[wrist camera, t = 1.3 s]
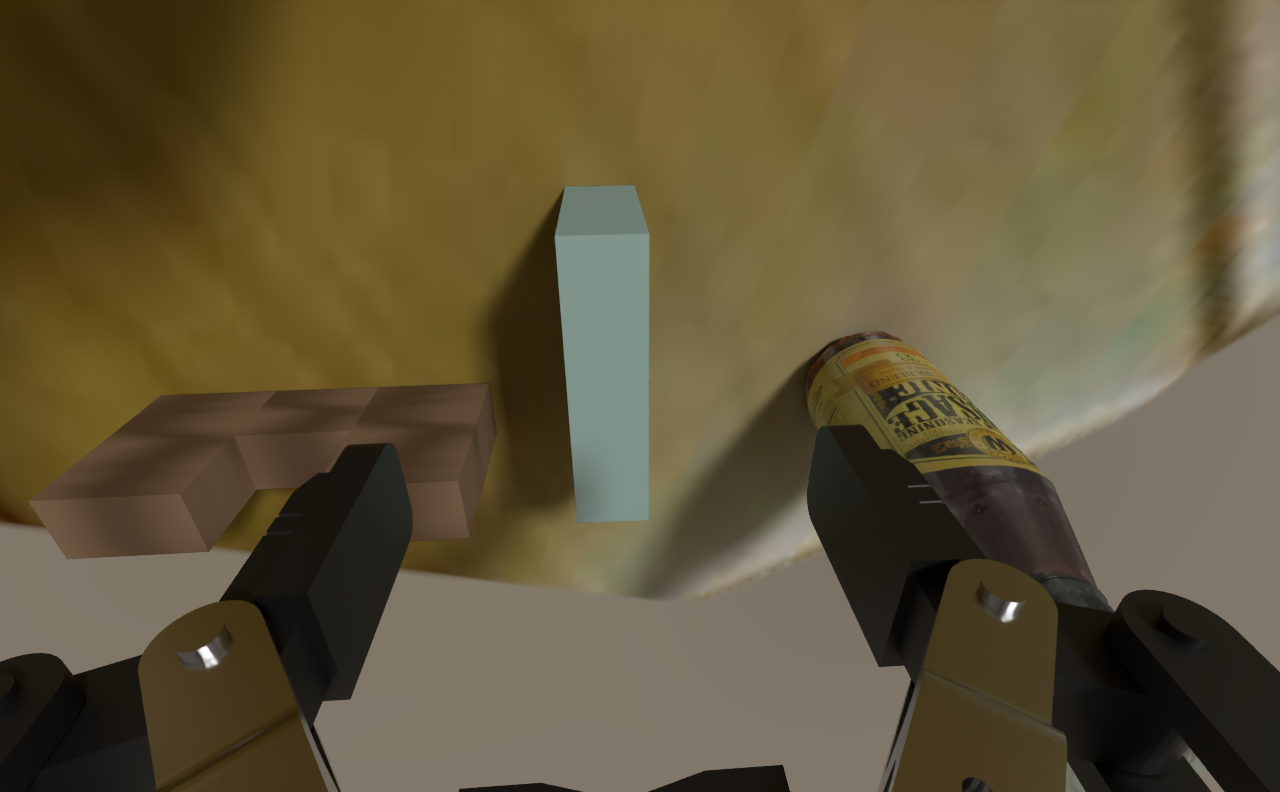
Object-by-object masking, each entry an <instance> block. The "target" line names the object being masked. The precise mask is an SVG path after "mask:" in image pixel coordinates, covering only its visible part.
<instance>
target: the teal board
mask: <svg viewBox="0 0 1280 792" xmlns="http://www.w3.org/2000/svg"><path fill="white" fill-rule="evenodd" d="M555 246H556V258H557V271H558V284H559V297H560V310H561V322H562V335H563V348H564V361H565V374H566V386H567V399H568V412H569V425H570V437H571V450H572V463H573V476H574V489H575V501H576V514H577V523H594V522H613V521H633V520H649V232H648V228H647V225H646V222H645V219H644V215H643V212H642V209H641V206H640V202H639V199H638V196H637V193H636V189H635V186H634V185H628V186H578V187H565V190H564V195H563V199H562V204H561V209H560V213H559V218H558V223H557V228H556V232H555Z"/></svg>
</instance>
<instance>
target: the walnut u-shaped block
mask: <svg viewBox="0 0 1280 792" xmlns="http://www.w3.org/2000/svg"><path fill="white" fill-rule="evenodd" d="M496 433H497V431H496V425H495V418H494V411H493V405H492V398H491V392H490V385H489V383H481V384H454V385H428V386H401V387H375V388H348V389H322V390H295V391H269V392H242V393H216V394H189V395H163V396H160V397H159V398H158V399H156V400H155V401H154V402H153V403H151V404H150V405H149V406H148V407H146V408H145V409H144V410H143V411H141V412H140V413H139V414H137V415H136V416H135V417H134V418H132V419H131V420H130V421H129V422H127V423H126V424H125V425H124V426H122V427H121V428H120V429H119V430H117V431H116V432H115V433H114V434H112V435H111V436H110V437H109V438H107V439H106V440H105V441H103V442H102V443H101V444H100V445H98V446H97V447H96V448H95V449H93V450H92V451H91V452H90V453H88V454H87V455H86V456H85V457H83V458H82V459H81V460H80V461H78V462H77V463H76V464H75V465H73V466H72V467H71V468H69V469H68V470H67V471H66V472H64V473H63V474H62V475H61V476H59V477H58V478H57V479H56V480H54V481H53V482H52V483H51V484H49V485H48V486H47V487H46V488H44V489H43V490H42V491H40V492H39V493H38V494H37V495H35V496H34V497H33V498H32V499H30V500H29V503H30V504H31V506H32V507H33V509H34V510H35V512H36V513H37V515H38V516H39V518H40V519H41V521H42V522H43V524H44V525H45V527H46V528H47V530H48V531H49V533H50V534H51V536H52V537H53V539H54V540H55V542H56V543H57V545H58V546H59V548H60V549H61V551H62V552H63V554H64V555H65V557H66V558H67V559H77V558H96V557H116V556H135V555H154V554H172V553H173V554H174V553H192V552H193V553H194V552H209V551H210V550H211V548H212V547H213V546H214V544H215V543H216V542H217V540H218V539H219V538H220V537H221V535H222V534H223V533H224V531H225V530H226V529H227V527H228V526H229V525H230V524H231V522H232V521H233V520H234V518H235V517H236V516H237V515H238V513H239V512H240V511H241V509H242V508H243V507H244V505H245V504H246V503H247V502H248V500H249V499H250V498H251V496H252V495H253V494H254V492H255V491H256V490H257V489H277V488H299V487H301V486H302V485H303V484H304V483H306V482H307V481H308V480H310V479H311V478H312V477H313V476H315V475H316V474H317V473H329V472H330V470H331V469H332V467H333V466H334V464H335V463H336V461H337V459H338V458H339V456H340V455H341V453H342V451H343V450H344V448H345V447H346V446H347V445H351V444H374V443H392V444H393V445H394V446H395V448H396V450H397V452H398V456H399V460H400V464H401V468H402V472H403V475H404V479H405V483H406V487H407V491H408V495H409V499H410V503H411V507H412V514H413V526H412V534H411V538H410V541H425V540H445V539H464V538H470V535H471V531H472V527H473V523H474V520H475V516H476V512H477V508H478V504H479V500H480V496H481V492H482V488H483V484H484V480H485V476H486V472H487V469H488V465H489V461H490V457H491V453H492V449H493V445H494V441H495V437H496Z"/></svg>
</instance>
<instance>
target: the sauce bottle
mask: <svg viewBox="0 0 1280 792" xmlns="http://www.w3.org/2000/svg"><path fill="white" fill-rule="evenodd" d="M805 387H806V389H805V393H806V400H807V407H808V410H809V414H810V417H811V419H812V421H813V424H814V425H815V427H816V429H817V431H818V430H819V428H820V427H821V426H830V425H854V424H861V425H863V426H864V427H865V428H866V429H867V430H868V432H869V433H870V435H871V436H872V437H873V439H874V440H875V441H876V443H877V444H878V446H879V447H880V448H881V449H892V450H894V451H895V452H896V453H898V454H899V455H901V456H902V457H904V458H905V459H907V460H908V461H910V462H911V463H913V464H914V465H915V466H916V467H917V469H918V470H919V471H920V473H921V474H922V475H923V476H924V478H925V479H926V480H927V482H928V483H929V487H930V488H931V487H932V488H933V489H934V491H935V492H936V493H937V494H938V496H939V497H940V498H941V503H942V504H943V503H945V505H946V506H947V507H948V509H949V510H950V511H951V512H952V514H953V515H954V516H955V518H956V519H957V520H958V521H959V523H960V524H961V525H962V527H963V528H964V529H965V530H966V532H967V533H968V534H969V536H970V537H971V538H972V539H973V541H974V542H975V543H976V545H977V546H978V547H979V548H980V550H981V551H982V552H983V554H984V555H985V556H986V557H987V559H988V560H992V561H997V562H1000V563H1004V564H1007V565H1009V566H1012V567H1014V568H1016V569H1018V570H1020V571H1022V572H1024V573H1025V574H1027V575H1029V576H1030V577H1032V578H1033V579H1034V580H1036V581H1037V582H1038V583H1039V584H1040V585H1041V586H1042V587H1044V588H1045V589H1046V591H1047V592H1048V593H1049V594H1050V596H1051V597H1052V599H1053V600H1054V601H1057V602H1061V603H1066V604H1071V605H1076V606H1081V607H1087V608H1092V609H1097V610H1102V611H1107V612H1112V613H1115V611H1114V610H1113V609H1112V608H1111V607H1110V606H1109V605H1108V602H1107V599H1106V598H1105V596H1104V595H1103V594H1102V593H1101V591H1100V590H1099V589H1097V586H1096V584H1095V581H1094V579H1093V577H1092V574H1091V572H1090V570H1089V567H1088V565H1087V562H1086V560H1085V558H1084V555H1083V553H1082V550H1081V548H1080V546H1079V544H1078V541H1077V539H1076V537H1075V534H1074V532H1073V530H1072V527H1071V525H1070V523H1069V520H1068V518H1067V516H1066V513H1065V511H1064V508H1063V506H1062V504H1061V502H1060V499H1059V497H1058V494H1057V492H1056V490H1055V487H1054V486H1053V484H1052V482H1051V481H1050V480H1049V479H1048V478H1047V477H1046V476H1045V475H1044V474H1043V473H1042V472H1041V471H1040V470H1039V469H1038V468H1037V467H1036V466H1035V464H1034V463H1033V462H1031V461H1030V460H1029V459H1028V458H1027V457H1026V456H1025V455H1024V454H1023V453H1022V451H1020V450H1019V449H1018V448H1017V447H1016V446H1015V445H1013V444H1012V442H1011V441H1010V440H1009V439H1008V438H1006V437H1005V436H1004V435H1003V434H1002V432H1000V431H999V429H998V428H997V427H996V426H995V425H994V424H993V423H992V422H991V421H990V420H989V419H988V418H987V417H986V416H985V415H984V414H983V413H982V412H981V411H980V410H979V409H977V408H976V407H975V406H974V405H973V404H972V402H971V401H970V400H969V399H968V398H967V397H966V396H965V395H964V394H963V393H961V392H960V391H959V390H958V389H957V388H956V387H955V386H954V385H953V384H952V383H951V382H950V381H949V380H948V379H947V378H946V377H945V376H944V375H943V374H942V373H941V372H940V371H939V370H937V369H936V368H935V367H934V366H933V365H932V364H931V363H930V362H929V361H928V360H927V359H926V358H925V357H924V356H923V355H922V354H921V353H920V352H919V351H918V350H917V349H915V348H913V347H912V346H910V345H908V344H906V343H903V342H902V340H901V339H899V338H897V337H894V336H892V335H889V334H887V333H885V332H864V333H860V334H855V335H852V336H846V337H844V338H841V339H838V340H837V341H836V342H834V343H833V344H831V345H830V346H829V347H828V348H827V349H826V350H825V352H824V353H823V354H822V355H820V356H819V357H818V359H817V360H816V361H815V362H814V363H813V365H812V367H811V368H810V370H809V372H808V375H807V381H806V385H805ZM1183 756H1184V757H1185V758H1186V760H1187V761H1188V762H1189V764H1190V765H1191V766H1192V767H1193V769H1194V770H1195V771H1196V773H1197V774H1199V773H1200V772H1201V771H1202V770H1204V769H1205V766H1204V765H1203V764H1202V763H1201V761H1200V760H1199V759H1198V758H1197V756H1196V755H1195V754H1194V753H1193V751H1192V750H1191V749H1190V748H1188V749H1187V750H1186V752H1185V753H1184V754H1183ZM1066 792H1085V790H1084V788H1083V787H1082V785H1081V783H1080V782H1079V780H1078V778H1077V777H1076V775H1075V773H1074V772H1073V770H1072V769H1071V767H1070V765H1069V764H1068V762H1067V769H1066Z"/></svg>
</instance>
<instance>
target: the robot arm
mask: <svg viewBox="0 0 1280 792" xmlns="http://www.w3.org/2000/svg"><path fill="white" fill-rule="evenodd" d="M807 504H808V511H809V515H810V519H811V521H812V524H813V526H814V528H815V530H816V532H817V534H818V537H819V539H820V541H821V543H822V545H823V547H824V550H825V552H826V554H827V556H828V558H829V560H830V562H831V564H832V566H833V569H834V571H835V573H836V575H837V577H838V580H839V582H840V584H841V586H842V588H843V590H844V593H845V595H846V597H847V599H848V601H849V603H850V606H851V608H852V610H853V612H854V614H855V616H856V618H857V621H858V623H859V625H860V627H861V629H862V631H863V634H864V636H865V638H866V640H867V642H868V644H869V646H870V649H871V651H872V653H873V655H874V657H875V659H876V661H877V664H878V666H879V667H887V666H901V665H902V666H903V665H904V666H905V668H906V669H907V671H908V673H909V675H910V678H911V681H910V683H909V687H908V689H907V692H906V696H905V699H904V703H903V706H902V710H901V713H900V716H899V720H898V723H897V727H896V730H895V734H894V737H893V741H892V744H891V747H890V751H889V754H888V758H887V761H886V765H885V768H884V772H883V775H882V778H881V782H880V785H879V788H878V792H1066V769H1067V762H1068V764H1069V765H1070V767H1071V769H1072V770H1073V772H1074V773H1075V775H1076V777H1077V778H1078V780H1079V782H1080V783H1081V785H1082V787H1083V788H1084V790H1085V792H1211V791H1210V789H1209V788H1208V787H1207V786H1206V784H1205V783H1204V782H1203V780H1202V779H1201V778H1200V777H1199V775H1198V774H1197V773H1196V771H1195V770H1194V769H1193V767H1192V766H1191V765H1190V764H1189V762H1188V761H1187V760H1186V758H1185V757H1184V756H1183V754H1184V753H1185V752H1186V750H1187V749H1188V748H1190V749H1191V750H1192V751H1193V753H1194V754H1195V755H1196V756H1197V758H1198V759H1199V760H1200V761H1201V763H1202V764H1203V765H1204V766H1205V768H1206V769H1207V770H1208V771H1209V773H1210V774H1211V775H1212V776H1213V778H1214V779H1215V780H1216V781H1217V783H1218V784H1219V785H1220V786H1221V788H1222V789H1223V790H1224V791H1225V792H1280V672H1279V671H1278V670H1277V669H1276V668H1275V667H1274V666H1273V665H1272V664H1270V662H1269V661H1268V660H1267V659H1266V658H1265V657H1263V656H1262V655H1261V654H1260V653H1259V652H1258V651H1257V650H1256V649H1255V648H1254V647H1253V646H1252V645H1251V644H1250V643H1249V642H1248V641H1247V640H1246V639H1245V638H1244V637H1243V636H1242V635H1241V634H1240V633H1239V632H1238V631H1237V630H1235V629H1234V628H1233V627H1232V626H1231V625H1230V624H1228V623H1227V622H1226V621H1225V620H1223V619H1222V618H1221V617H1219V616H1218V615H1216V614H1215V613H1213V612H1211V611H1210V610H1208V609H1207V608H1204V607H1203V606H1201V605H1199V604H1197V603H1195V602H1193V601H1190V600H1188V599H1186V598H1182V597H1180V596H1177V595H1174V594H1170V593H1167V592H1162V591H1156V590H1137V591H1134V592H1131V593H1129V594H1127V595H1126V596H1125V597H1124V598H1123V599H1122V601H1121V602H1120V604H1119V606H1118V608H1117V609H1116V611H1115V613H1112V612H1107V611H1102V610H1097V609H1092V608H1087V607H1081V606H1076V605H1071V604H1066V603H1061V602H1057V601H1054V600H1053V599H1052V597H1051V596H1050V594H1049V593H1048V592H1047V591H1046V589H1045V588H1044V587H1042V586H1041V585H1040V584H1039V583H1038V582H1037V581H1036V580H1034V579H1033V578H1032V577H1030V576H1029V575H1027V574H1025V573H1024V572H1022V571H1020V570H1018V569H1016V568H1014V567H1012V566H1009V565H1007V564H1004V563H1000V562H997V561H992V560H988V559H987V557H986V556H985V555H984V554H983V552H982V551H981V550H980V548H979V547H978V546H977V545H976V543H975V542H974V541H973V539H972V538H971V537H970V536H969V534H968V533H967V532H966V530H965V529H964V528H963V527H962V525H961V524H960V523H959V521H958V520H957V519H956V518H955V516H954V515H953V514H952V512H951V511H950V510H949V509H948V507H947V506H946V505H945V503H943V504H942V503H941V498H940V497H939V496H938V494H937V493H936V492H935V491H934V489H933V488H932V487H931V488H930V487H929V483H928V482H927V480H926V479H925V478H924V476H923V475H922V474H921V473H920V471H919V470H918V469H917V467H916V466H915V465H914V464H913V463H911V462H910V461H908V460H907V459H905V458H904V457H902V456H901V455H899V454H898V453H896V452H895V451H894V450H892V449H881V448H880V447H879V446H878V444H877V443H876V441H875V440H874V439H873V437H872V436H871V435H870V433H869V432H868V430H867V429H866V428H865V427H864V426H863V425H861V424H854V425H830V426H821V427H820V428H819V430H818V433H817V437H816V442H815V448H814V454H813V460H812V465H811V471H810V477H809V483H808V489H807ZM412 526H413V514H412V507H411V503H410V499H409V495H408V491H407V487H406V483H405V479H404V475H403V472H402V468H401V464H400V460H399V456H398V452H397V450H396V448H395V446H394V445H393V444H392V443H374V444H351V445H347V446H346V447H345V448H344V450H343V451H342V453H341V455H340V456H339V458H338V459H337V461H336V463H335V464H334V466H333V467H332V469H331V470H330V472H329V473H317V474H316V475H315V476H313V477H312V478H311V479H310V480H308V481H307V482H306V483H304V484H303V485H302V486H301V487H299V488H298V489H297V490H295V491H294V492H293V493H292V495H291V496H290V498H289V499H288V501H287V502H286V504H285V505H284V507H283V508H282V510H281V511H280V513H279V518H275V520H274V521H273V523H272V524H271V526H270V527H269V529H268V530H267V536H263V537H262V539H261V540H260V542H259V543H258V545H257V546H256V548H255V549H254V551H253V552H252V554H251V555H250V557H249V558H248V559H247V561H246V563H245V564H244V565H243V567H242V568H241V570H240V571H239V573H238V574H237V576H236V577H235V579H234V580H233V582H232V583H231V585H230V586H229V588H228V589H227V590H226V592H225V593H224V595H223V596H222V598H221V599H220V601H219V602H216V603H212V604H209V605H206V606H203V607H201V608H198V609H195V610H193V611H192V612H189V613H187V614H186V615H184V616H182V617H180V618H179V619H177V620H175V621H174V622H173V623H171V624H170V625H168V626H167V627H166V628H165V629H163V630H162V631H161V632H160V633H159V634H158V635H157V636H156V637H155V638H154V639H153V640H152V641H151V642H150V644H149V645H148V646H147V648H146V649H145V651H144V653H143V654H142V655H140V656H137V657H133V658H130V659H126V660H123V661H120V662H116V663H113V664H109V665H106V666H103V667H99V668H96V669H93V670H89V671H86V672H83V673H79V674H76V675H73V674H72V673H71V672H70V671H69V669H68V668H67V667H66V665H65V664H64V663H63V661H62V660H61V659H59V658H58V657H57V656H54V655H52V654H46V653H33V654H27V655H21V656H17V657H14V658H10V659H7V660H5V661H2V662H0V792H342V790H341V788H340V785H339V783H338V780H337V778H336V776H335V773H334V771H333V768H332V766H331V763H330V761H329V758H328V756H327V754H326V751H325V749H324V746H323V744H322V741H321V739H320V736H319V734H318V732H317V729H316V727H315V725H314V721H315V718H316V716H317V713H318V711H319V709H320V706H321V704H322V701H332V700H348V699H351V696H352V694H353V691H354V688H355V685H356V683H357V680H358V678H359V675H360V672H361V669H362V667H363V664H364V662H365V658H366V656H367V654H368V651H369V648H370V646H371V643H372V640H373V638H374V635H375V632H376V629H377V627H378V624H379V621H380V619H381V616H382V614H383V611H384V608H385V606H386V603H387V600H388V598H389V595H390V592H391V589H392V587H393V584H394V582H395V579H396V576H397V574H398V571H399V568H400V566H401V563H402V560H403V558H404V555H405V552H406V550H407V547H408V544H409V542H410V538H411V534H412ZM459 792H581V791H577V790H572V789H567V788H562V787H558V786H553V785H548V784H544V783H533V784H519V785H506V786H491V787H478V788H466V789H459ZM649 792H790V790H789V787H788V783H787V779H786V775H785V772H784V768H783V765H776V766H761V767H748V768H735V769H721V770H708V771H703V772H701V773H698V774H695V775H692V776H689V777H687V778H684V779H681V780H679V781H676V782H673V783H671V784H668V785H665V786H663V787H660V788H657V789H655V790H652V791H649Z"/></svg>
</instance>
